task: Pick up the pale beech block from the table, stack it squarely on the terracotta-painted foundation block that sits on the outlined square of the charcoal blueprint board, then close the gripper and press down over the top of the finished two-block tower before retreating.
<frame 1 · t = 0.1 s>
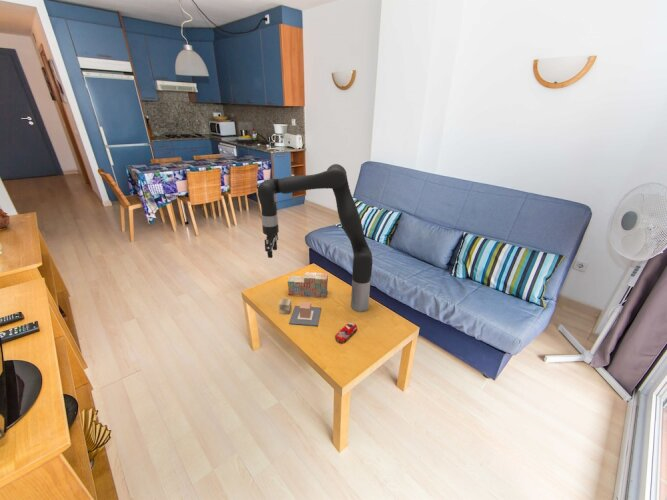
hand: (272, 253, 149), 29 cm above the table, fingers open, 8 cm apart
stack of blocks: (308, 293, 169), on the table
blueprint board: (305, 316, 151), on the table
race car: (346, 335, 140), on the table
foundation block: (305, 314, 151), point 1 cm above the table, touching blueprint board
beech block: (285, 311, 154), on the table
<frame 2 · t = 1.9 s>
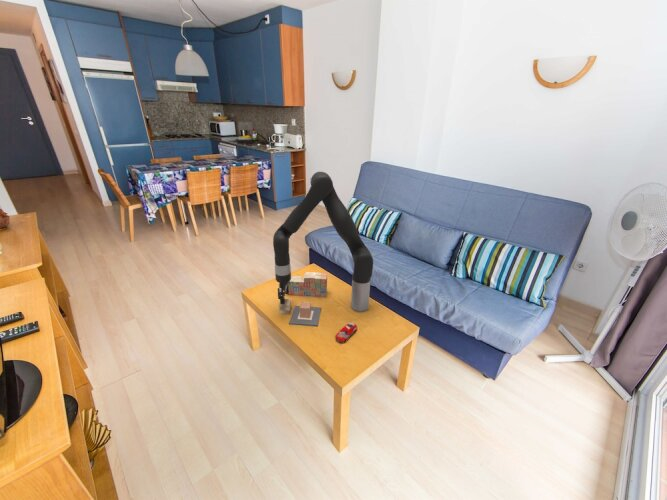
hand: (284, 298, 151), 8 cm above the table, fingers open, 8 cm apart
nothing on the table moved.
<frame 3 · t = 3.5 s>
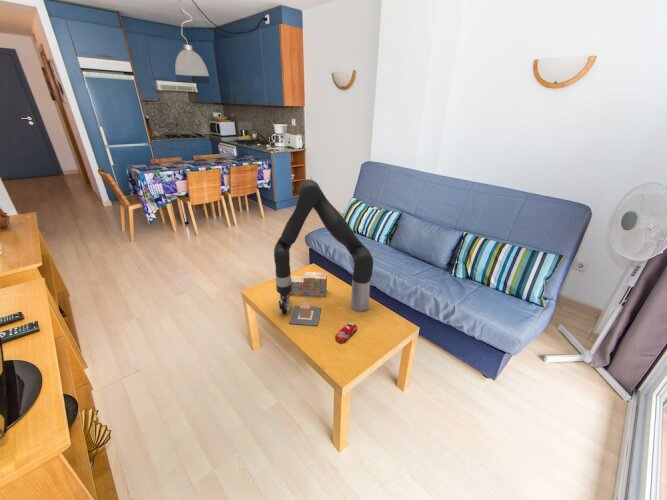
hand: (285, 310, 154), 1 cm above the table, fingers closed on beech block, 5 cm apart
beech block: (285, 311, 154), on the table, touching gripper
everything else where it was.
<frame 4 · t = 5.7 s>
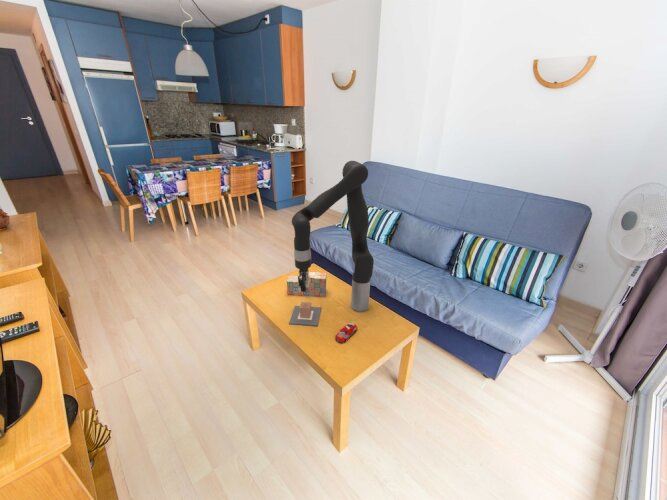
hand: (304, 287, 144), 17 cm above the table, fingers closed on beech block, 5 cm apart
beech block: (304, 289, 144), point 16 cm above the table, touching gripper
everything else where it was.
when the fingers open (9 cm above the table, at t = 8.2 s): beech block drops 1 cm, resting on foundation block.
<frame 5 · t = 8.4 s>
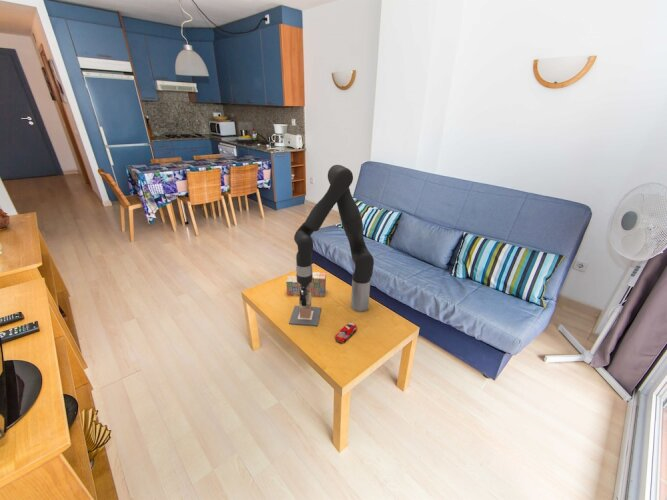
hand: (305, 301, 147), 9 cm above the table, fingers open, 6 cm apart
foundation block: (305, 314, 151), point 1 cm above the table, touching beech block, blueprint board
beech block: (305, 305, 148), point 7 cm above the table, touching foundation block
everything else where it was.
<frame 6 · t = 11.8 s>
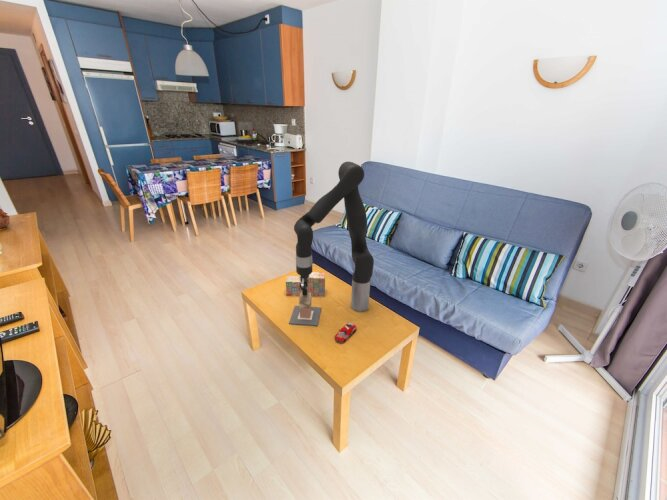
hand: (305, 294, 145), 13 cm above the table, fingers closed
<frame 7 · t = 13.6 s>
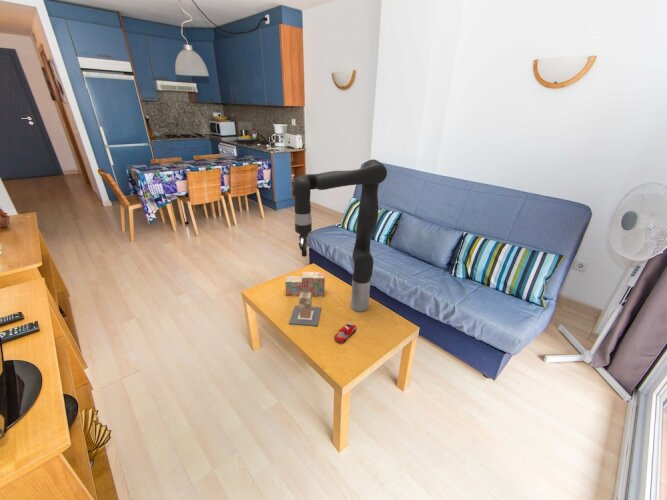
hand: (304, 255, 141), 32 cm above the table, fingers closed
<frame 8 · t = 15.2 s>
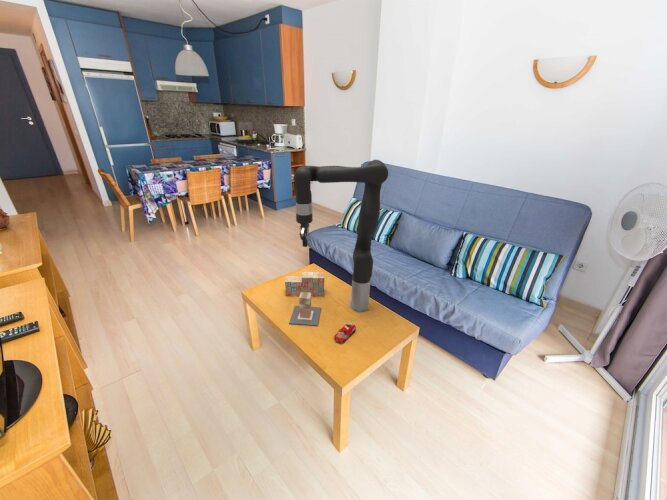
hand: (305, 246, 143), 35 cm above the table, fingers closed
at the end: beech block 0.1 cm off-centre on the foundation block, point 6.0 cm above the foundation block's base; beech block tilted 0°; foundation block moved 0.0 cm from its start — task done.
